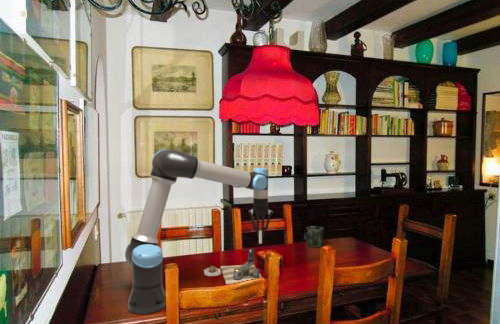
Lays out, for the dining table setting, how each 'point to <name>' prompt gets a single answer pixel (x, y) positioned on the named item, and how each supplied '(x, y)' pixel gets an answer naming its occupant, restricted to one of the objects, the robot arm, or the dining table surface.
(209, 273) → the dish
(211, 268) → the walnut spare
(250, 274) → the walnut
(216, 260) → the dining table surface
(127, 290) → the dining table surface
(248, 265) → the lever
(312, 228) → the mug
